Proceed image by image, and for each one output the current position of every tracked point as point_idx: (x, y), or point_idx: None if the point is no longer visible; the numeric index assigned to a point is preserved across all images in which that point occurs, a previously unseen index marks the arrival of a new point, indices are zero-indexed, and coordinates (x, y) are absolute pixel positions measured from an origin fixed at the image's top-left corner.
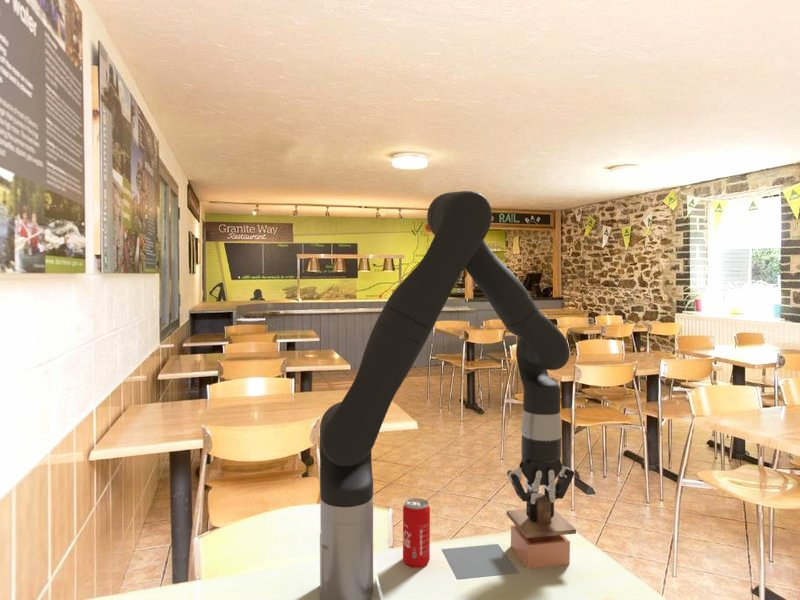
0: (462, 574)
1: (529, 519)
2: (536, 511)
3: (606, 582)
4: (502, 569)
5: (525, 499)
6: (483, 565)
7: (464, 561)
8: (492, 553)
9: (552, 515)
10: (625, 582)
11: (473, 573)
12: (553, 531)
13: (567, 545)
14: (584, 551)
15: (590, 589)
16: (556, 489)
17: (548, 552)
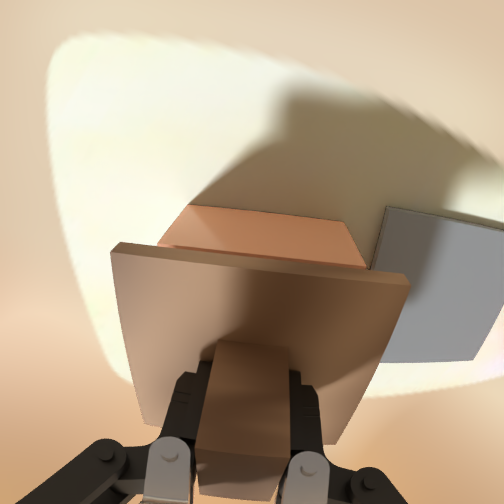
0: None
1: None
2: None
3: (119, 94)
4: (423, 243)
5: (369, 477)
6: (452, 277)
7: (474, 305)
8: None
9: (185, 378)
10: (70, 89)
11: (494, 249)
12: (249, 269)
13: (173, 237)
14: (102, 270)
15: (193, 65)
16: (119, 492)
17: (267, 236)
